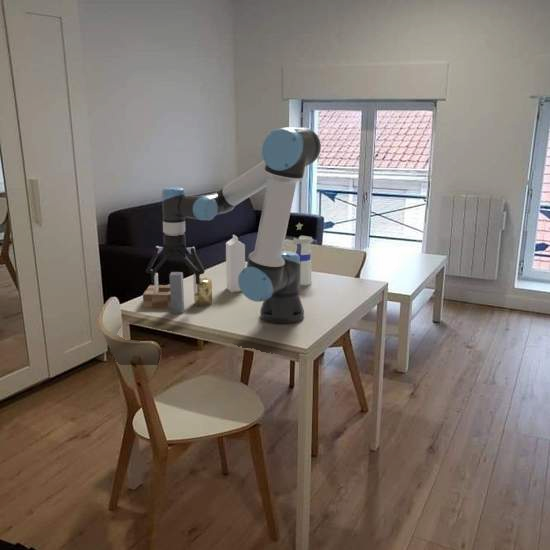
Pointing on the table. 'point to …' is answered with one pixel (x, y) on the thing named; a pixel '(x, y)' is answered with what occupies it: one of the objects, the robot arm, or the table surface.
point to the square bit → (176, 292)
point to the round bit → (203, 293)
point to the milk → (234, 262)
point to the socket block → (157, 297)
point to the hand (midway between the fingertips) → (176, 292)
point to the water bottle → (304, 257)
